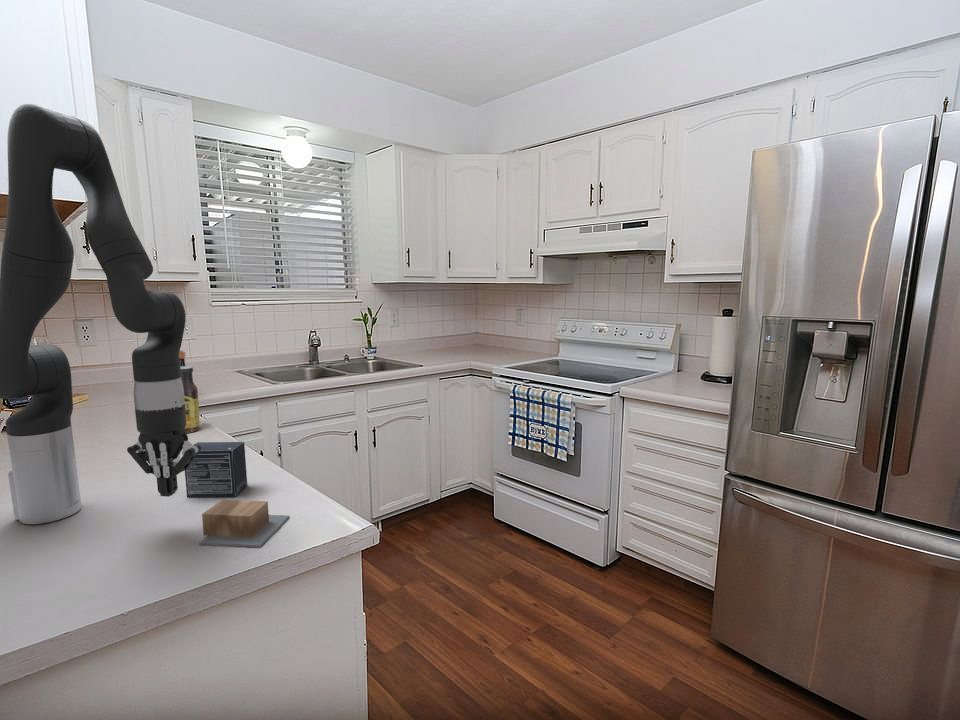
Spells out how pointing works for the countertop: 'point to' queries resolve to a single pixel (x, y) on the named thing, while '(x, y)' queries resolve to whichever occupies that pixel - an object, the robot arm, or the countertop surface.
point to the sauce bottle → (190, 400)
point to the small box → (217, 470)
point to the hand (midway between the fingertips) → (168, 494)
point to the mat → (254, 541)
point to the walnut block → (235, 518)
